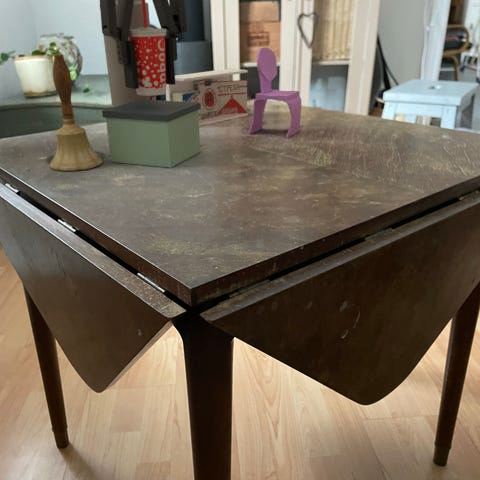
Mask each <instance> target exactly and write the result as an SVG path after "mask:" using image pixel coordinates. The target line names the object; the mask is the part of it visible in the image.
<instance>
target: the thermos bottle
mask: <svg viewBox="0 0 480 480" xmlns="http://www.w3.org/2000/svg"><path fill="white" fill-rule="evenodd" d="M115 4H116V13H117V6H118V0H115ZM145 5H146V16H147V27H151V23H150V11H149V3H148V2H146V1H145ZM100 13H101V11H100ZM143 27H144V18H143V7H142V0H134V4H133V11H132V18H131V25H130V29H139V28H143ZM102 36H103V43H104V51H105V60H106V69H107V76H108V77H107V78H108V84H109V92H110V99H111V101H110V102H111V108H113V107H116V106H120V105H123V104H126V103H130V102H133V101H136V100H140V99H142V100H157V95H153V96H145V95H138V94H137V90H136V89H132V88H127V87H126V84H125V75H124V66H123V65H122V64H119V62H118V55H117V47H116V41H115V40H114V39H113V38H111V37H109V36H105V35H103V34H102ZM128 41H129V39H128Z"/></svg>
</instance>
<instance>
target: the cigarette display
mask: <svg viewBox="0 0 480 480" xmlns="http://www.w3.org/2000/svg"><path fill="white" fill-rule="evenodd" d="M246 73H249V72H248V69H237V68H225V69H216V70H209V71H201V72H193V73H186V74H178V75H177V74H175V84H174V85H170V84H166V94H165V101H179V102H198V103H201V109H199V110H198V112H199V127H202V126H206V125H211V124H216V123H220V122H225V121H230V120H234V119H239V118H244V117H248V116H249V113H248V80H246V79H241V80H240V79H238V80H237V79H236V80H234V75H239V74H246Z"/></svg>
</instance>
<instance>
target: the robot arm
mask: <svg viewBox="0 0 480 480" xmlns="http://www.w3.org/2000/svg"><path fill="white" fill-rule="evenodd" d="M151 1H152V4H153V7H154V10H155V13H156V16H157V20H158V23H159V26H160V29H167V32H166V34H167V35H166V36H165V54H166V84H170V85H174V84H175V76H176V72H175V61H177V60H178V44H177V43H178V42H177V40H178V39H179V38H180V37H181V35H182V34H183V33H186V32H187V31H188V24H187V23H188V22H187V14H186V5H185V4H186V3H185V0H151ZM133 4H134V0H118V6H117V13H116V4H115V0H99V10H100V11H101V12H100V21H101V22H100V23H101V32H102V36H103V35H105V36H109V37H111V38H113V39H114V40H115V41H116V47H117V55H118V62H119V64H122V65H123V66H124V75H125V84H126V87H127V88H132V89H139V86H138V76H137V66H136V56H135V46H134V41H128V38H129V32H130V25H131V18H132V11H133Z"/></svg>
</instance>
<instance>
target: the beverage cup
mask: <svg viewBox="0 0 480 480" xmlns="http://www.w3.org/2000/svg"><path fill="white" fill-rule="evenodd" d="M145 2H146V0H142V7H143V18H144V27H143V28H139V29H130V32H129V38H128V39H129V41H134V46H135V56H136V66H137V76H138V86H139V89H136V90H137V94H138V95H145V96H153V95H156V96H162V95H166V54H165V36H166V35H167V34H166V32H167V29H161V28H154V27H151V26H150V27H147V16H146V5H145Z"/></svg>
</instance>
